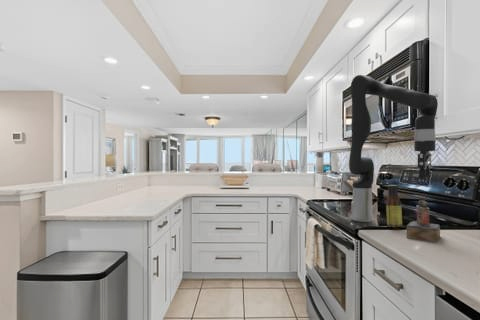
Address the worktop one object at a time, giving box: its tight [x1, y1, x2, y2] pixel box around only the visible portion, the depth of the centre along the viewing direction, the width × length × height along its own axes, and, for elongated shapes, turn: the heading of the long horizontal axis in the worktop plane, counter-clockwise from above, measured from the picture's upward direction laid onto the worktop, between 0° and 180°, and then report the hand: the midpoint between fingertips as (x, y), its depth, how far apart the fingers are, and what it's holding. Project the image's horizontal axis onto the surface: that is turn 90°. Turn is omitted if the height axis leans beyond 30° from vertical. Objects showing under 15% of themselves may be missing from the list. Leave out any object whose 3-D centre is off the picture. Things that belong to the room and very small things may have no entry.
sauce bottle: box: [385, 184, 403, 228], centre depth 126 cm, size 6×6×20 cm
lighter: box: [415, 199, 430, 227], centre depth 110 cm, size 8×3×10 cm, turn 165°
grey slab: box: [405, 220, 441, 243], centre depth 110 cm, size 10×10×5 cm
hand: (424, 177), depth 116 cm, fingers open, 8 cm apart
